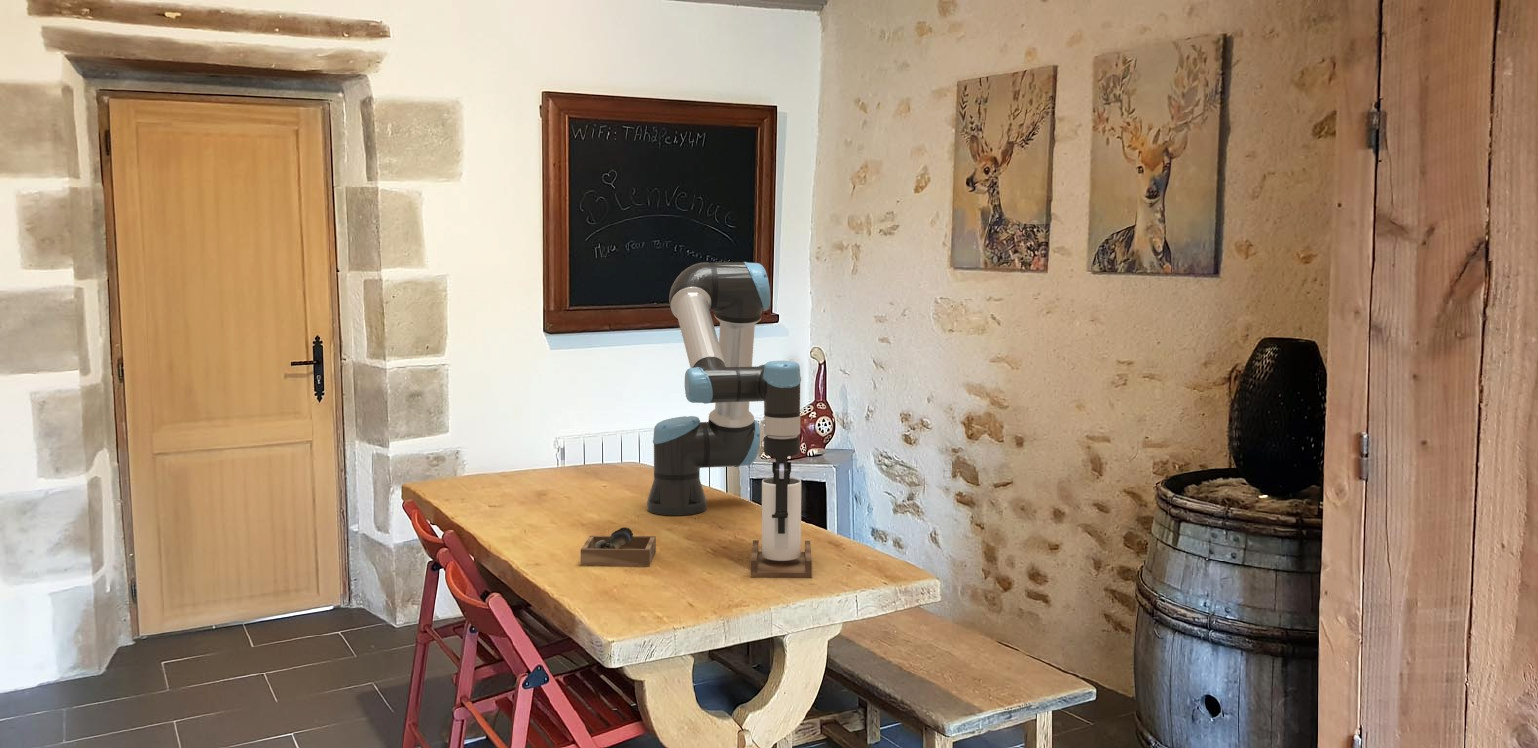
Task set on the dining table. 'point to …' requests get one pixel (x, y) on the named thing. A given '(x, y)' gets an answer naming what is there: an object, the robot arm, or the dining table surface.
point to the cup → (793, 520)
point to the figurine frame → (619, 552)
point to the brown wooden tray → (781, 564)
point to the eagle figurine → (616, 539)
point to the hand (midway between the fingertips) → (781, 542)
